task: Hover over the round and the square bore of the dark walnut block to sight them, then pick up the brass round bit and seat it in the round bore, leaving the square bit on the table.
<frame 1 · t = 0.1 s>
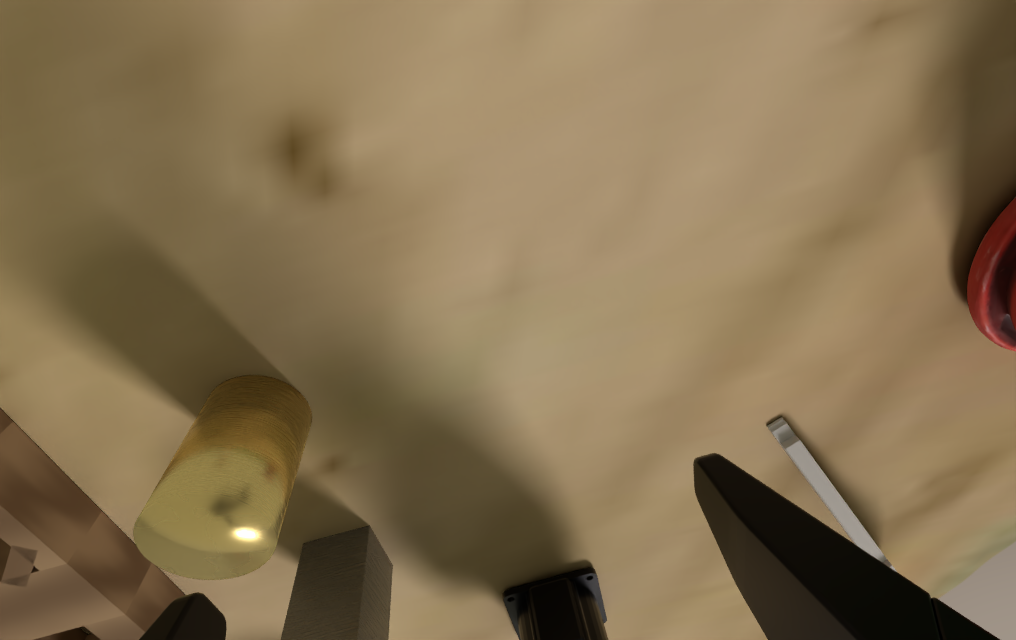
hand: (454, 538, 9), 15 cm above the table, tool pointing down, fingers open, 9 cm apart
square bit: (349, 554, 31), on the table
bore block: (41, 554, 27), on the table
round bit: (260, 415, 25), on the table
caliper: (826, 495, 35), on the table
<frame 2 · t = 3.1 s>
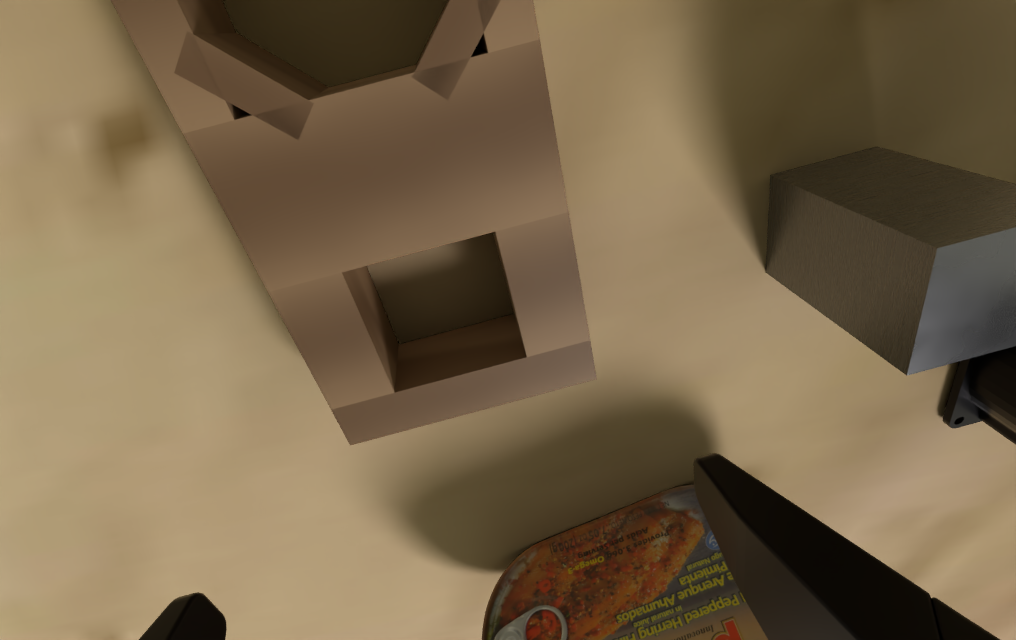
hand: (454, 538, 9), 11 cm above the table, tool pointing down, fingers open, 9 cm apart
square bit: (818, 212, 19), on the table
tin: (610, 527, 28), on the table
bore block: (393, 137, 16), on the table
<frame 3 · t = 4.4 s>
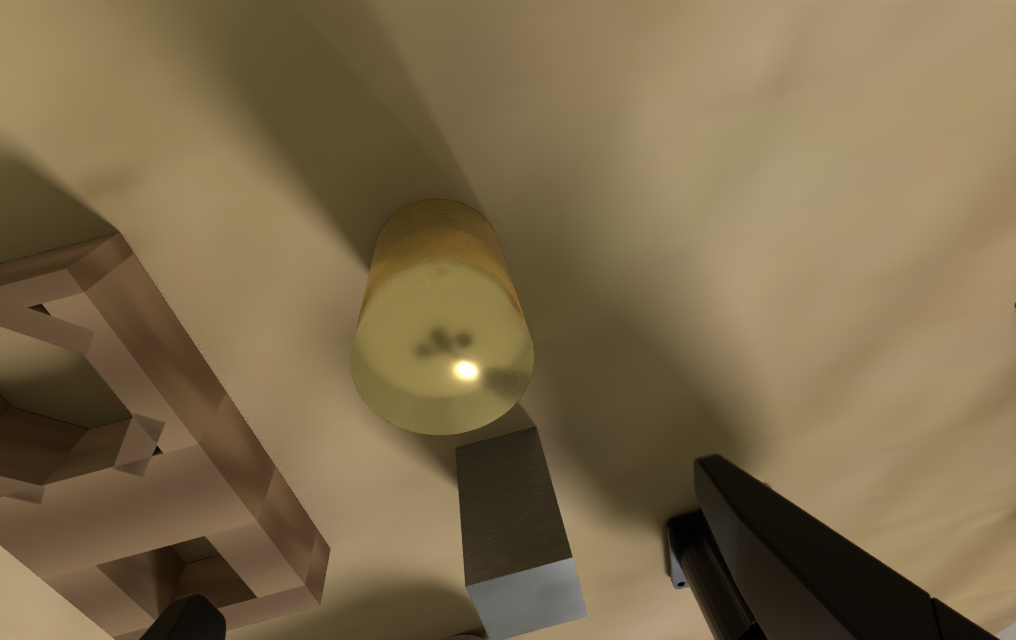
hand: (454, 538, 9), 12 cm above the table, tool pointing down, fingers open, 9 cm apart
square bit: (505, 465, 25), on the table
bore block: (145, 451, 22), on the table
round bit: (438, 260, 19), on the table
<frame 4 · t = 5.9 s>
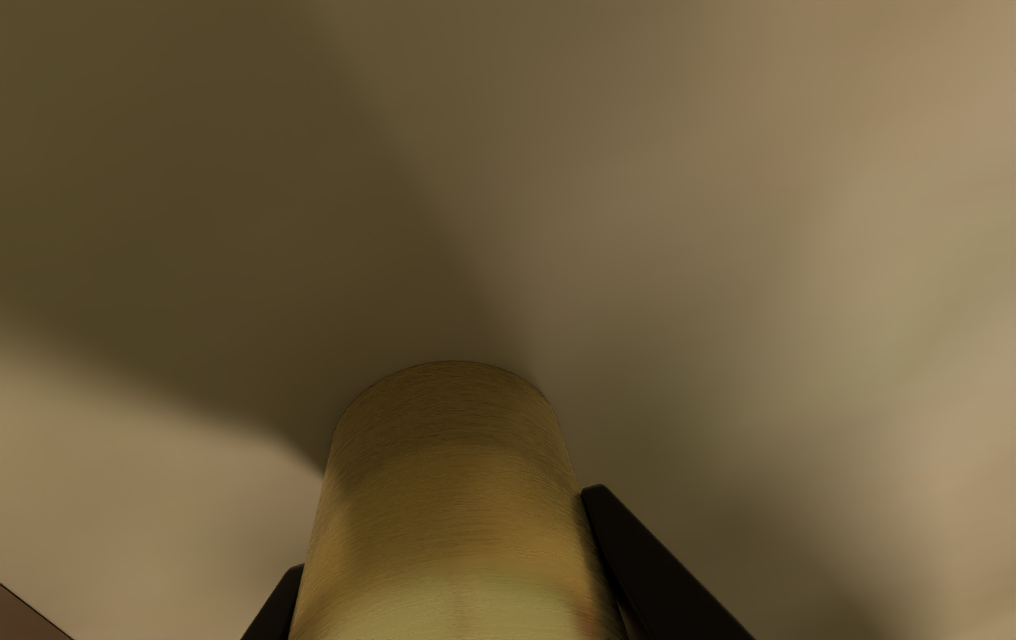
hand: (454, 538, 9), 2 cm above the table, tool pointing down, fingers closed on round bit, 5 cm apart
round bit: (449, 454, 11), on the table, touching gripper
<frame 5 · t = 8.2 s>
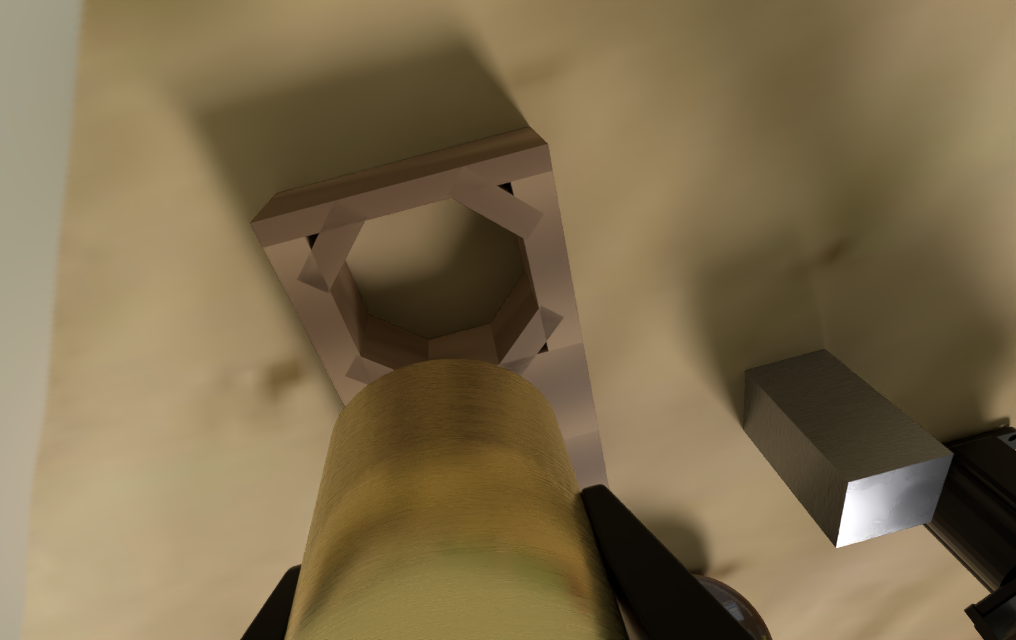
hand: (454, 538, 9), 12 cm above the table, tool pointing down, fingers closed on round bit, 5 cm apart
square bit: (782, 391, 26), on the table
tin: (621, 605, 34), on the table
bore block: (470, 365, 22), on the table
round bit: (448, 453, 11), point 10 cm above the table, touching gripper
when the fingers open (4 cm above the table, at t = 10.4 s): round bit drops 2 cm, resting in bore block.
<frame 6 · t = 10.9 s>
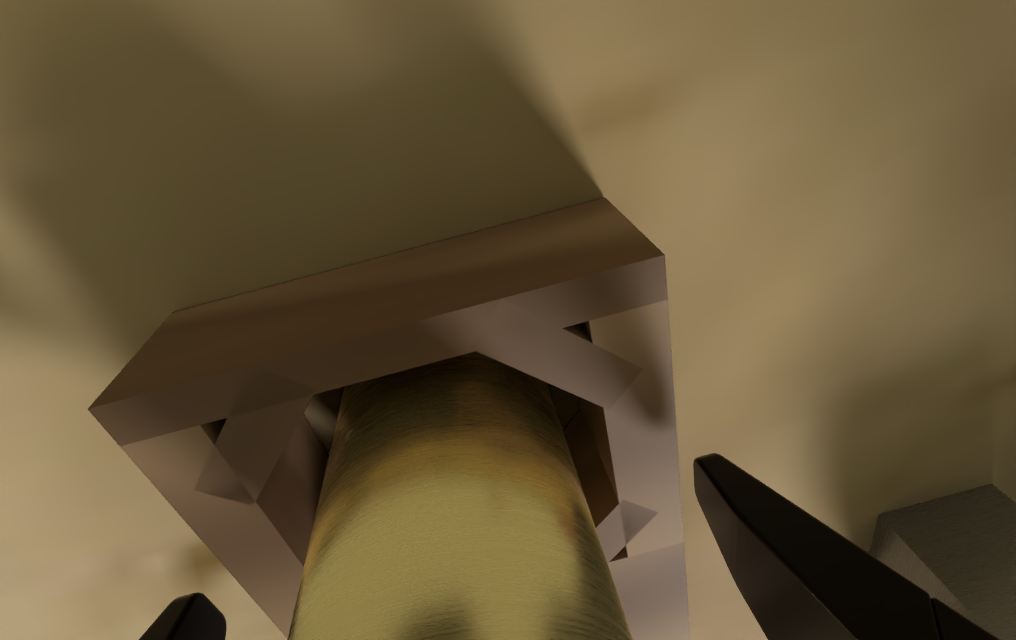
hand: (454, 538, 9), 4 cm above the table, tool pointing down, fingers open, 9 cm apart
square bit: (923, 535, 18), on the table
bore block: (493, 530, 15), on the table
round bit: (447, 399, 12), resting in bore block
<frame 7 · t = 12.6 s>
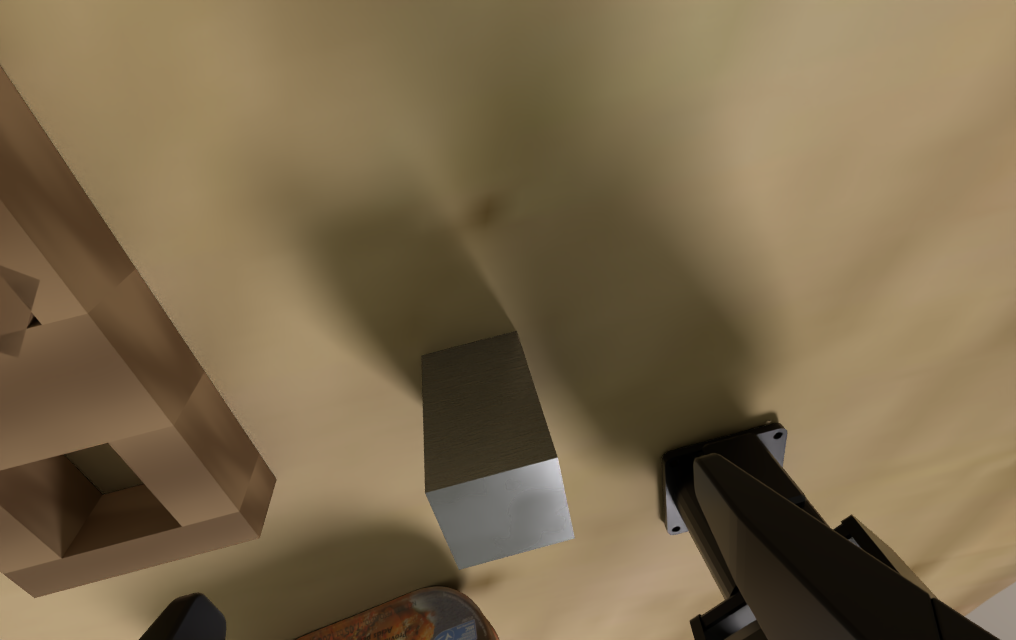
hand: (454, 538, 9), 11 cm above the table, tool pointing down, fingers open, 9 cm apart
square bit: (480, 380, 22), on the table
tin: (373, 619, 30), on the table
bore block: (38, 345, 18), on the table
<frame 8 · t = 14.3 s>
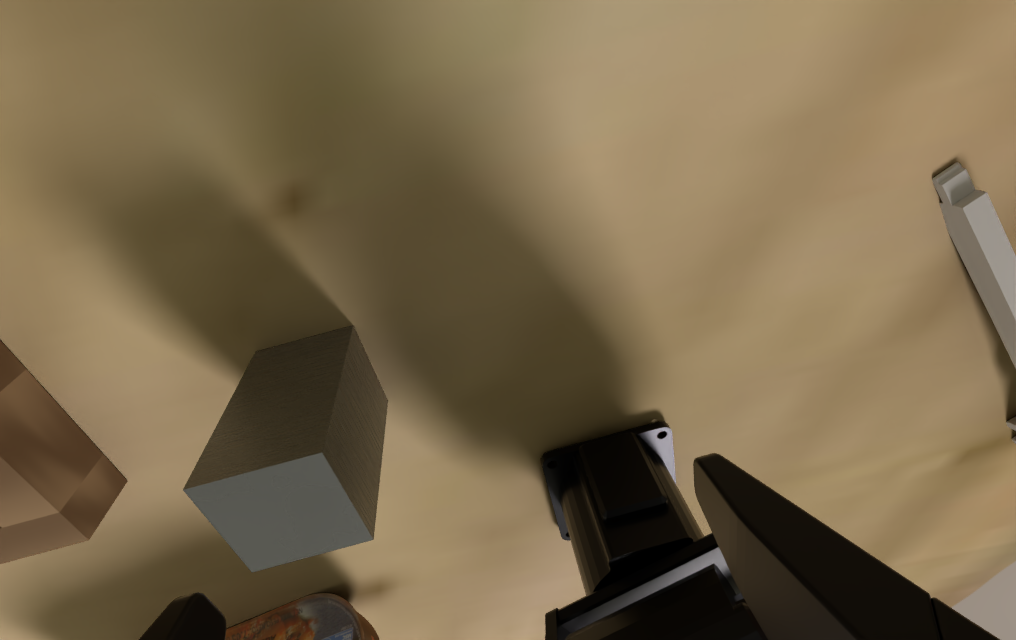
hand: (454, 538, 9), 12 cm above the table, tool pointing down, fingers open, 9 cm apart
square bit: (325, 377, 21), on the table
tin: (266, 627, 29), on the table
caliper: (980, 324, 25), on the table
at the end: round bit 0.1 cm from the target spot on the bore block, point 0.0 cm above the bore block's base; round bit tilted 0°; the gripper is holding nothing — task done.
